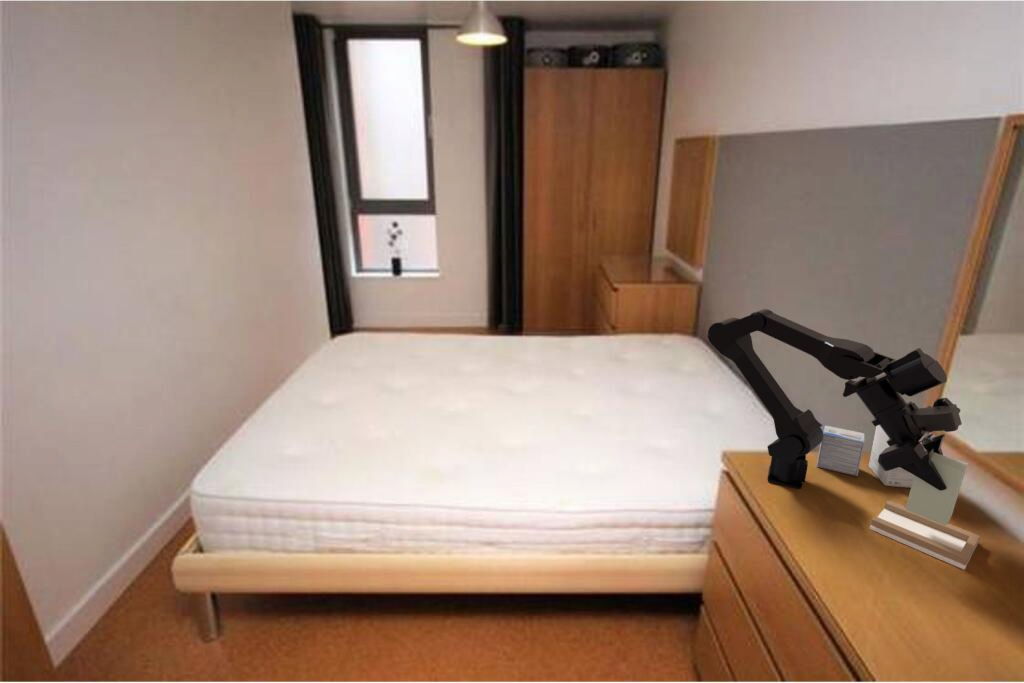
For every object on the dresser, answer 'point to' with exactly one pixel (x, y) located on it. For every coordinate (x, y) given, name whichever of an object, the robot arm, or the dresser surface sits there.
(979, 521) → the dresser surface
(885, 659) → the dresser surface
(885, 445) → the skincare box
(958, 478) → the door panel
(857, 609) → the dresser surface
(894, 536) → the track
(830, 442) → the medicine box
